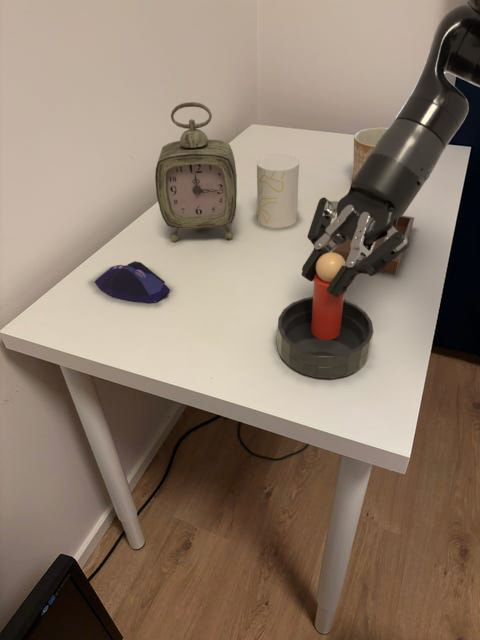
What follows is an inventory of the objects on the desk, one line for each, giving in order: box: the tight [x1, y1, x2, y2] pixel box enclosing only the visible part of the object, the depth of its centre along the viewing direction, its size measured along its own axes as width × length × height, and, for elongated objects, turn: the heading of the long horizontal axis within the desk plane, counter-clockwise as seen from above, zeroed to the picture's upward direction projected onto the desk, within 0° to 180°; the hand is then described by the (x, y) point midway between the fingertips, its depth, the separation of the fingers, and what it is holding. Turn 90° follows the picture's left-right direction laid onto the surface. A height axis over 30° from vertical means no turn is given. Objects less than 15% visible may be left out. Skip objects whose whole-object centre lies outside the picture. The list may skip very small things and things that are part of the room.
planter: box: [352, 127, 389, 180], centre depth 110 cm, size 13×13×10 cm
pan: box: [276, 296, 374, 379], centre depth 69 cm, size 13×13×4 cm
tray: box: [333, 214, 415, 275], centre depth 91 cm, size 17×13×3 cm
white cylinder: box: [256, 154, 300, 229], centre depth 97 cm, size 8×8×12 cm
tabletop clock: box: [154, 101, 238, 242], centre depth 89 cm, size 14×9×25 cm, turn 90°
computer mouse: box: [94, 260, 171, 304], centre depth 83 cm, size 9×15×4 cm, turn 58°
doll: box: [311, 252, 346, 340], centre depth 64 cm, size 4×4×12 cm
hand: (319, 285), depth 62 cm, fingers closed on doll, 4 cm apart
